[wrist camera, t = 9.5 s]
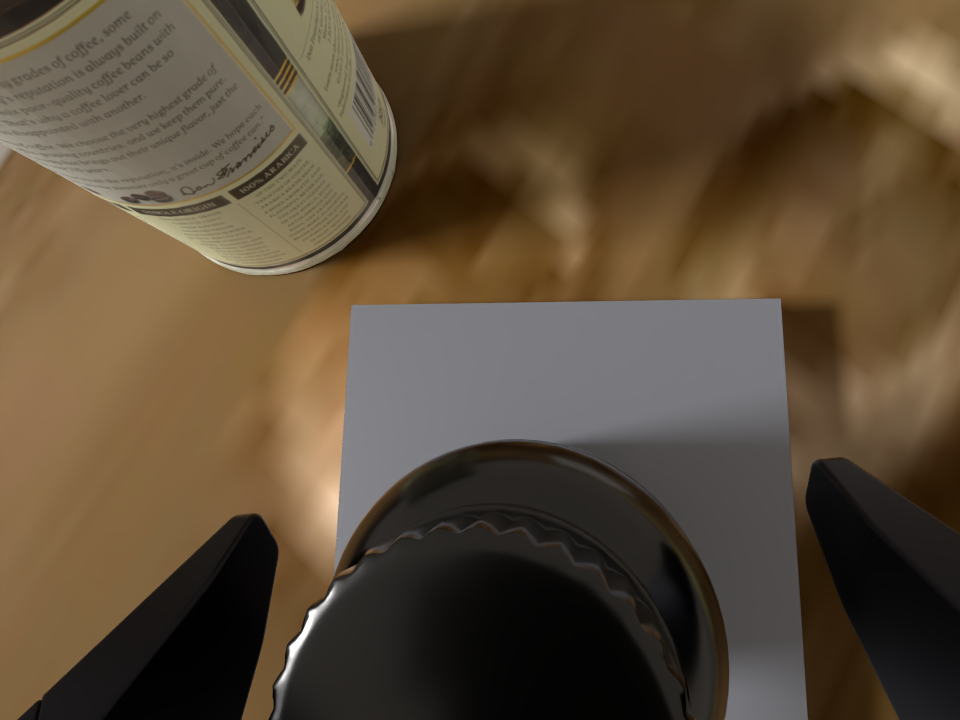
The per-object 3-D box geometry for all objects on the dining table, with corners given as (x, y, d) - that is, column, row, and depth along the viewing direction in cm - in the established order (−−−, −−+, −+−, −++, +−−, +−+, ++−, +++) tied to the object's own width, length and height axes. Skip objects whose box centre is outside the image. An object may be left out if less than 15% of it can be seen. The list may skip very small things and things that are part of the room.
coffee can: (131, 136, 25) (-385, -244, 12) (326, 6, 25) (32, -546, 11) (228, 328, 23) (-270, 135, 9) (445, 187, 23) (258, -228, 9)
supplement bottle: (643, 430, 18) (766, 397, 6) (681, 668, 17) (922, 1200, 5) (427, 455, 19) (173, 469, 7) (448, 681, 18) (186, 1143, 6)
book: (786, 962, 18) (829, 1061, 15) (347, 898, 20) (308, 974, 17) (750, 321, 21) (780, 298, 18) (378, 325, 23) (351, 305, 20)
